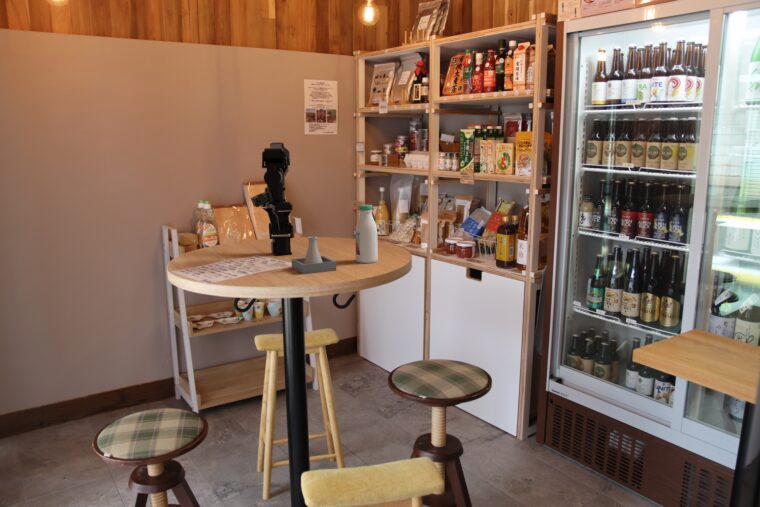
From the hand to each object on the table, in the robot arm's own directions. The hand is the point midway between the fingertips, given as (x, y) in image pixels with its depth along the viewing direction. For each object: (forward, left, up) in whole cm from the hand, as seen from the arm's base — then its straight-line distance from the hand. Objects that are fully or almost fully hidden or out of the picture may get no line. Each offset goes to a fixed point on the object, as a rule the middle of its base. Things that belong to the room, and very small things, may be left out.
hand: (277, 229), depth 215 cm
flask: (-7, +17, -11) cm, 22 cm away
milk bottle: (-28, +14, -12) cm, 34 cm away
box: (-7, +17, -12) cm, 22 cm away
